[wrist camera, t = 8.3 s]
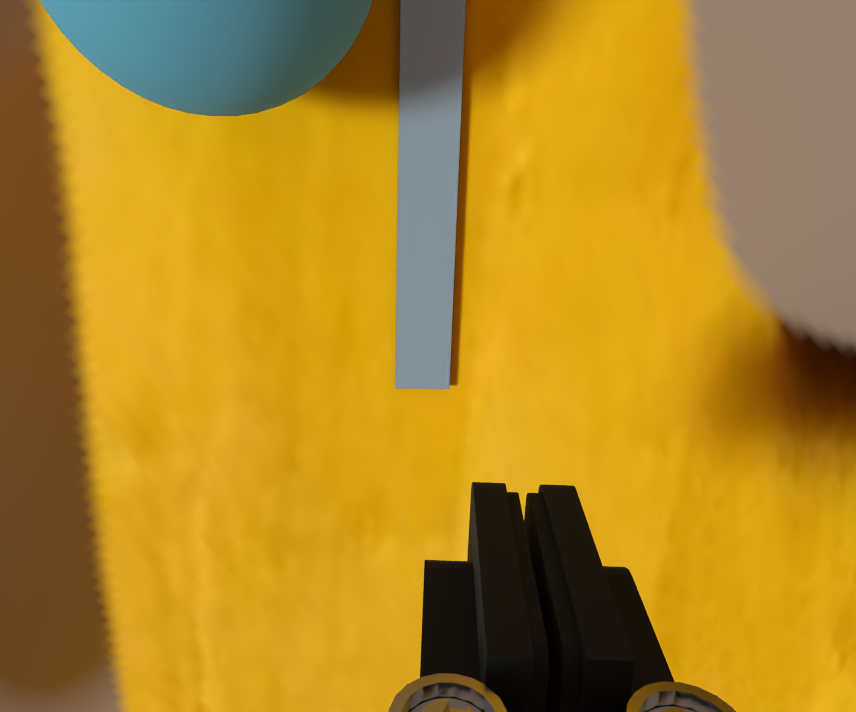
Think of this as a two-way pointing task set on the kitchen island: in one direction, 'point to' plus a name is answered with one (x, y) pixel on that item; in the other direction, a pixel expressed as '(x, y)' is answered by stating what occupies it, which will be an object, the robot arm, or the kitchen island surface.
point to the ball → (213, 47)
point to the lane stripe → (427, 188)
